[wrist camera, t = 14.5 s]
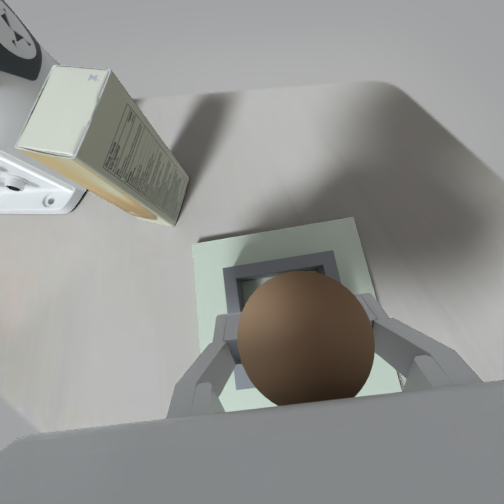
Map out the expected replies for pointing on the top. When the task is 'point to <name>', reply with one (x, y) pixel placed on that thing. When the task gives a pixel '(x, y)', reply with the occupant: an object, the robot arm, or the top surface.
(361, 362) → the brown dome-topped peg
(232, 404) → the collar holder
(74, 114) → the skincare box
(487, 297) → the top surface
